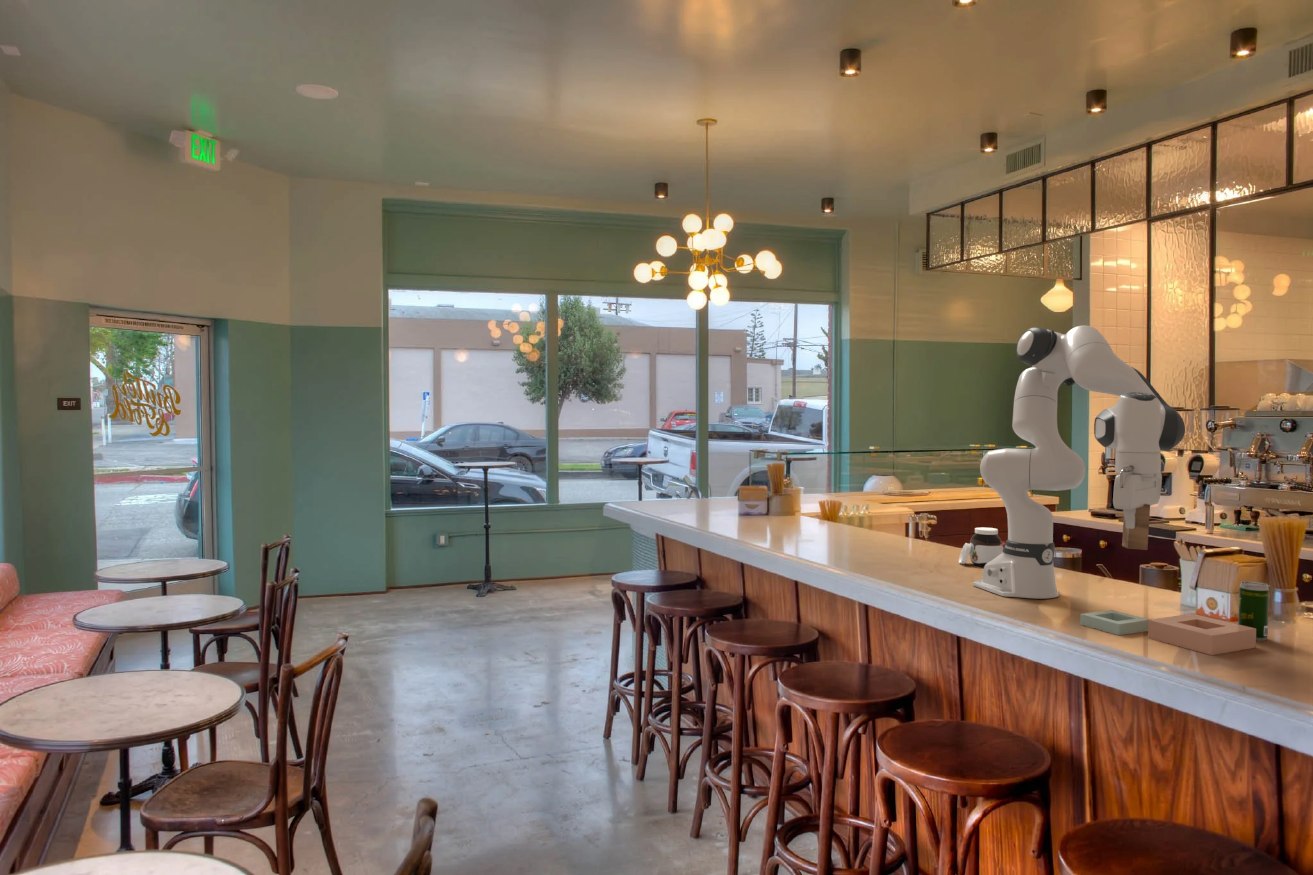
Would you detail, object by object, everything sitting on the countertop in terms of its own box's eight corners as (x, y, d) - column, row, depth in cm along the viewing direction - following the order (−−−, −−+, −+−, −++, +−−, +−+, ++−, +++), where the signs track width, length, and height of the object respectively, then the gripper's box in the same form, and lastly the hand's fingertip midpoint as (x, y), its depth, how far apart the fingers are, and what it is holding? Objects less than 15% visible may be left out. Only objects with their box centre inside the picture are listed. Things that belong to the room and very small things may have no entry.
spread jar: (1006, 567, 268) (1007, 530, 268) (974, 569, 265) (975, 532, 265) (983, 561, 280) (983, 525, 279) (952, 562, 277) (952, 526, 277)
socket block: (1148, 637, 188) (1148, 619, 187) (1191, 631, 193) (1191, 613, 193) (1211, 655, 175) (1211, 635, 175) (1255, 647, 180) (1256, 628, 180)
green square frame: (1080, 624, 199) (1080, 613, 199) (1111, 620, 203) (1111, 609, 203) (1118, 635, 190) (1119, 624, 190) (1150, 630, 194) (1150, 619, 194)
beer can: (1269, 637, 188) (1271, 583, 187) (1265, 642, 184) (1267, 587, 183) (1240, 633, 192) (1241, 579, 191) (1235, 638, 188) (1237, 583, 187)
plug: (1121, 545, 195) (1124, 501, 195) (1141, 547, 194) (1144, 503, 194) (1127, 548, 191) (1130, 503, 191) (1147, 549, 190) (1150, 504, 190)
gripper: (1137, 467, 183) (1136, 532, 183) (1167, 464, 197) (1165, 524, 197) (1105, 466, 187) (1104, 529, 188) (1137, 462, 201) (1135, 521, 202)
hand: (1136, 526), depth 192 cm, fingers closed on plug, 6 cm apart
